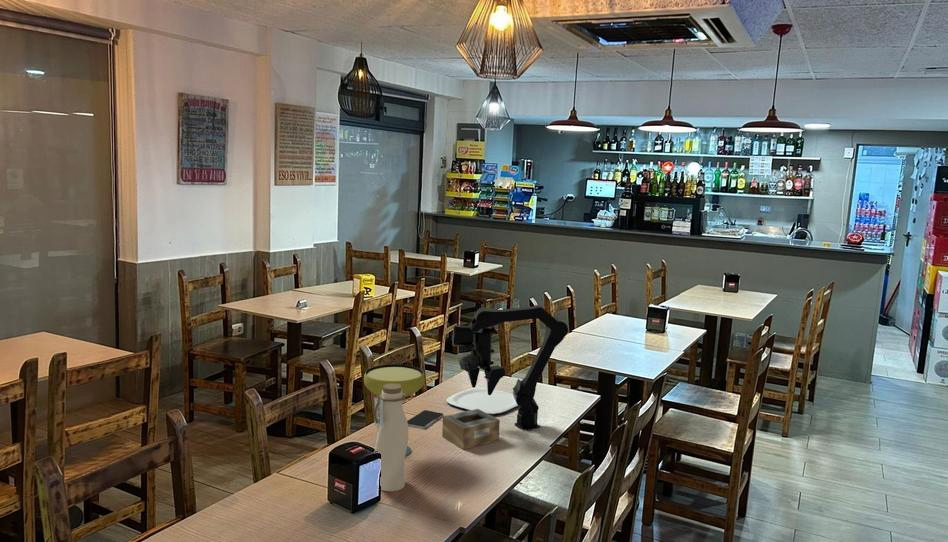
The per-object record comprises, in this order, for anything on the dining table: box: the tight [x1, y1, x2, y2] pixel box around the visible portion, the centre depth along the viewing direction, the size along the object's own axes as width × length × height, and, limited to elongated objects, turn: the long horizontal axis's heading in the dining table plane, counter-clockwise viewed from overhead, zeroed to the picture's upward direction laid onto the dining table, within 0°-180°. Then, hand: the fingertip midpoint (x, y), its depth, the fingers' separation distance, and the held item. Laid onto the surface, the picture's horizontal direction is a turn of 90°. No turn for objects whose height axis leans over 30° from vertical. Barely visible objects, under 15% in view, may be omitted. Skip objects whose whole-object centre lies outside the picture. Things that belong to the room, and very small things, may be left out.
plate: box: [445, 386, 519, 415], centre depth 254 cm, size 25×25×2 cm
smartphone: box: [407, 409, 445, 430], centre depth 234 cm, size 8×1×15 cm
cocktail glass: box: [363, 363, 425, 457], centre depth 205 cm, size 18×18×25 cm
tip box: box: [441, 409, 501, 450], centre depth 218 cm, size 14×12×7 cm
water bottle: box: [373, 384, 409, 492], centre depth 182 cm, size 10×9×28 cm
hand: (481, 391), depth 227 cm, fingers open, 9 cm apart
